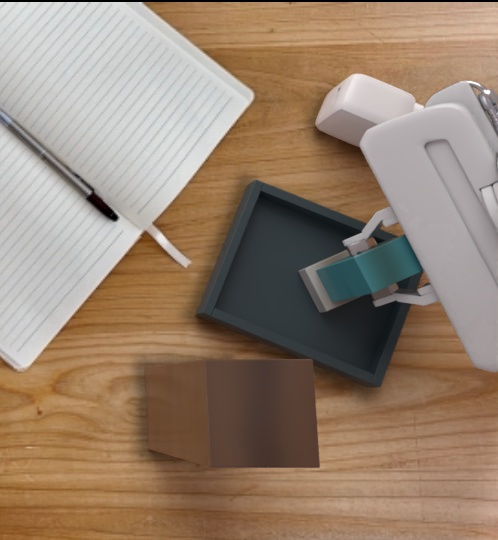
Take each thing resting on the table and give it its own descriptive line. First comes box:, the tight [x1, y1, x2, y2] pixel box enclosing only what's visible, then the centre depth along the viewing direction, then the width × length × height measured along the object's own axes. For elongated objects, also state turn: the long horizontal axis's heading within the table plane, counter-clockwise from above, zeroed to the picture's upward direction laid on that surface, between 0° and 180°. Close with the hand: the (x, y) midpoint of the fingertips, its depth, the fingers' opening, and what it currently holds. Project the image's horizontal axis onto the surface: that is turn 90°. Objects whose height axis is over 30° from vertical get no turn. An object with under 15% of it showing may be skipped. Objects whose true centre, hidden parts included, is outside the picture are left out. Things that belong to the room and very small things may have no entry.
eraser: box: [298, 233, 424, 313], centre depth 70 cm, size 6×4×8 cm, turn 114°
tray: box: [194, 179, 424, 388], centre depth 74 cm, size 16×13×2 cm
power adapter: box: [314, 73, 425, 148], centre depth 73 cm, size 11×5×6 cm, turn 65°
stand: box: [144, 358, 321, 469], centre depth 65 cm, size 7×7×18 cm
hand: (360, 273), depth 69 cm, fingers closed on eraser, 3 cm apart
